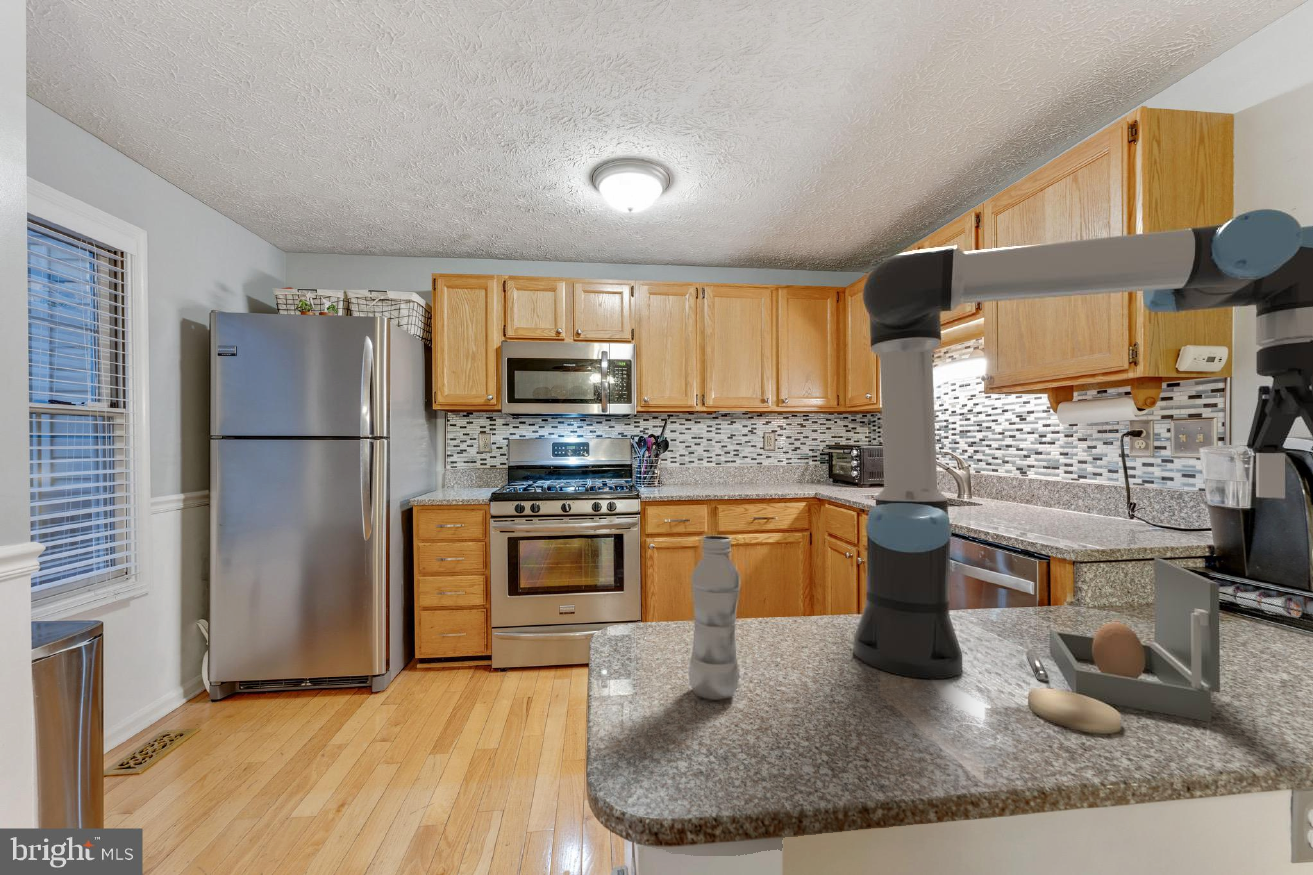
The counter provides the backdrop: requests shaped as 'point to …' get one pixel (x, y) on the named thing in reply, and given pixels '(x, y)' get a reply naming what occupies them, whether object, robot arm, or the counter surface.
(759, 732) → the counter surface
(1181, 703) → the grey hinged box
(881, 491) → the robot arm
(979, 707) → the counter surface
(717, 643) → the plastic bottle
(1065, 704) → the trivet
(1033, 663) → the rod
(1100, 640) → the egg
